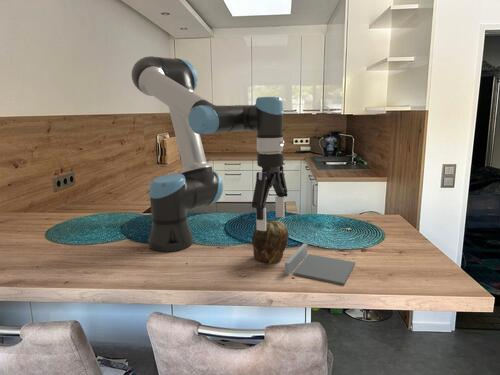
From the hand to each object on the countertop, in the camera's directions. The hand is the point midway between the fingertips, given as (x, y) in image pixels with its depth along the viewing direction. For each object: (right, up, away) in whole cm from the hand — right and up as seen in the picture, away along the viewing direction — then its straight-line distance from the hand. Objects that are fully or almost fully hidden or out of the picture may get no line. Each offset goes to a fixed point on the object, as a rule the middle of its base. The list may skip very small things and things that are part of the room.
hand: (271, 223), depth 107 cm
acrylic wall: (+8, -12, -1) cm, 14 cm away
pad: (+15, -13, -5) cm, 20 cm away
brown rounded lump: (0, -11, +3) cm, 12 cm away
